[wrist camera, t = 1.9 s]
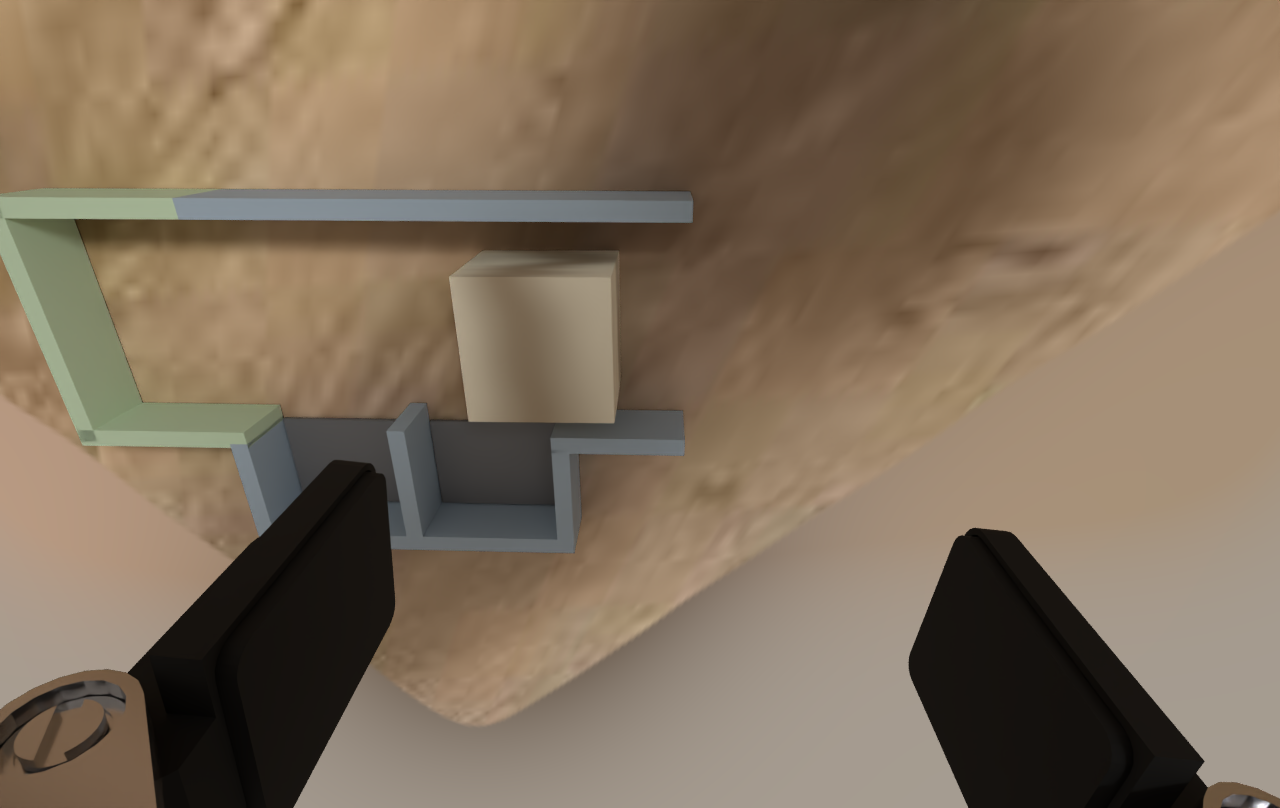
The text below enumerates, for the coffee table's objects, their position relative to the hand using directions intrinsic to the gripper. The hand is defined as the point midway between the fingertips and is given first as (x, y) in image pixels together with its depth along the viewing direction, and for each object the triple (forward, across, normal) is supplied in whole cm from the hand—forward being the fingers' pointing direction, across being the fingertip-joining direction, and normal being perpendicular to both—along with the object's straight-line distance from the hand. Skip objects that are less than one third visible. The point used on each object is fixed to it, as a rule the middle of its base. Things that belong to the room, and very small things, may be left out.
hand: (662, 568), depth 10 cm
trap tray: (+19, +12, +6) cm, 24 cm away
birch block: (+20, +5, +2) cm, 20 cm away
